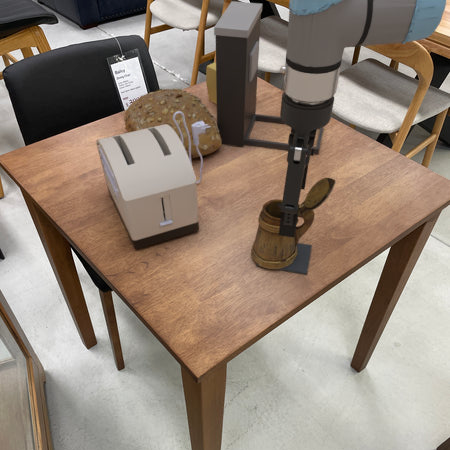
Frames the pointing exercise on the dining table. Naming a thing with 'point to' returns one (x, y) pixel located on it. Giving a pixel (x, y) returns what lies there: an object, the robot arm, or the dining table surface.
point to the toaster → (153, 181)
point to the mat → (299, 260)
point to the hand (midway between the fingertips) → (292, 210)
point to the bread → (163, 114)
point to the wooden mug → (270, 223)
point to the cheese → (211, 82)
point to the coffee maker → (241, 77)
